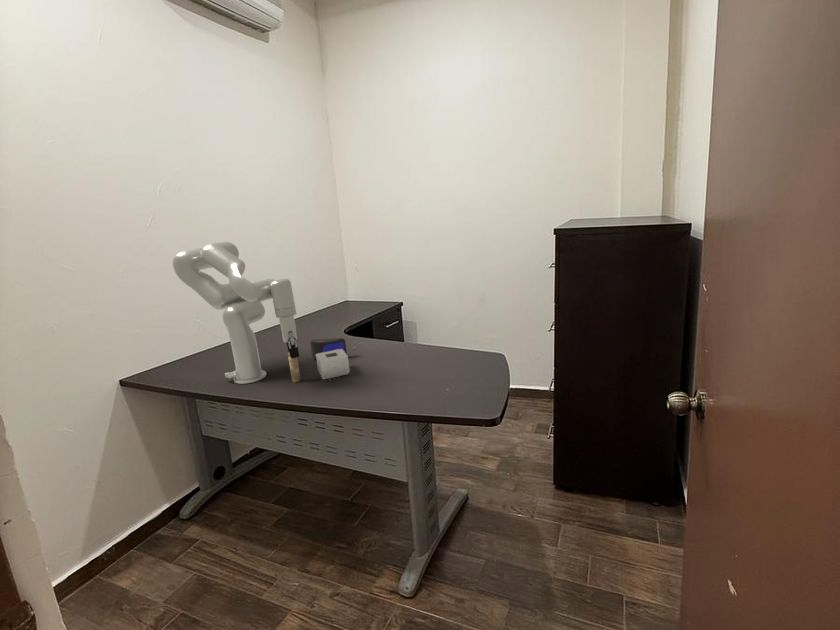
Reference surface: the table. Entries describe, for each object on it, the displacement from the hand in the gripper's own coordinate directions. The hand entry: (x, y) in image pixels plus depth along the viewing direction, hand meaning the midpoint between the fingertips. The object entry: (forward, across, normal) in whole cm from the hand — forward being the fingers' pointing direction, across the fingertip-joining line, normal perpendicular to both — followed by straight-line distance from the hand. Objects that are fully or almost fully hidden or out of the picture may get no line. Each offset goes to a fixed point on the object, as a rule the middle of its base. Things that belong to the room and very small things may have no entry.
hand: (293, 354), depth 162 cm
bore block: (+12, -1, +14) cm, 18 cm away
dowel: (+12, -1, -1) cm, 12 cm away
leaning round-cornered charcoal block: (+12, -21, +16) cm, 29 cm away
